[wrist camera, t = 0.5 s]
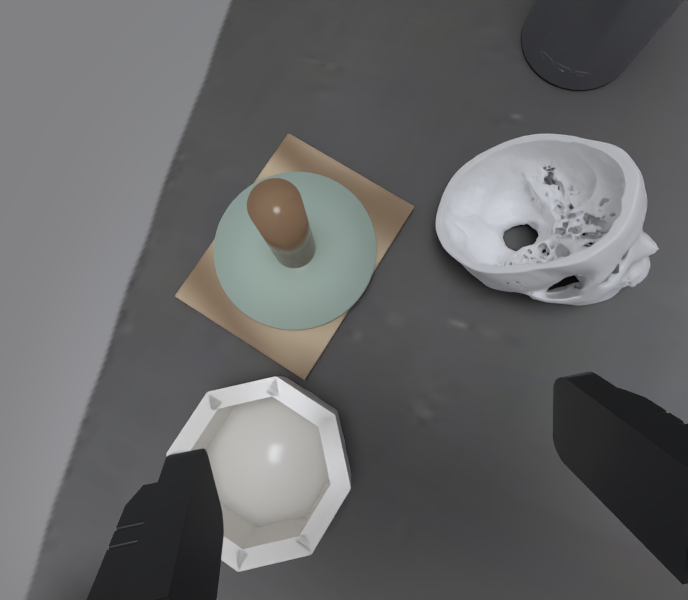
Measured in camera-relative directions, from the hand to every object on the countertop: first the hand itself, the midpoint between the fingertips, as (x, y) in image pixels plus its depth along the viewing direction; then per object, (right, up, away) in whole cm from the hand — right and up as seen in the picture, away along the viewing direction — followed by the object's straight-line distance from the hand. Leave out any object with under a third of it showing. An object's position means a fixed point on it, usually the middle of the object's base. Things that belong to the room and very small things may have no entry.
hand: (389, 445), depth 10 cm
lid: (-5, +7, +26) cm, 27 cm away
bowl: (-6, -8, +24) cm, 26 cm away
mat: (-5, +7, +26) cm, 28 cm away
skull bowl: (+13, +7, +26) cm, 30 cm away
